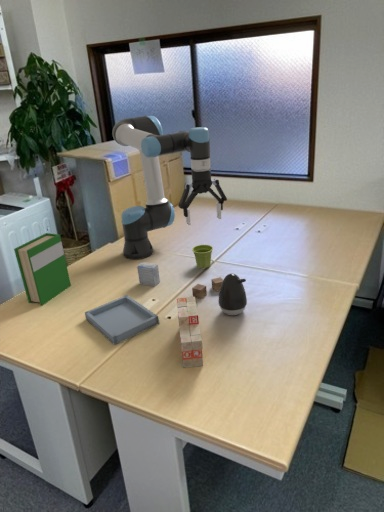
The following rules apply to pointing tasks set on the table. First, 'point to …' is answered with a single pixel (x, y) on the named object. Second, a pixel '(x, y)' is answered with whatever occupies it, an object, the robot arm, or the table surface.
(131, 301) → the tray
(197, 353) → the stack of blocks
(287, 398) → the table surface
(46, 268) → the hardback book
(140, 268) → the medicine box
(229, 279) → the pump dispenser
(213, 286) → the walnut block
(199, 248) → the plant pot
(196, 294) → the walnut block
